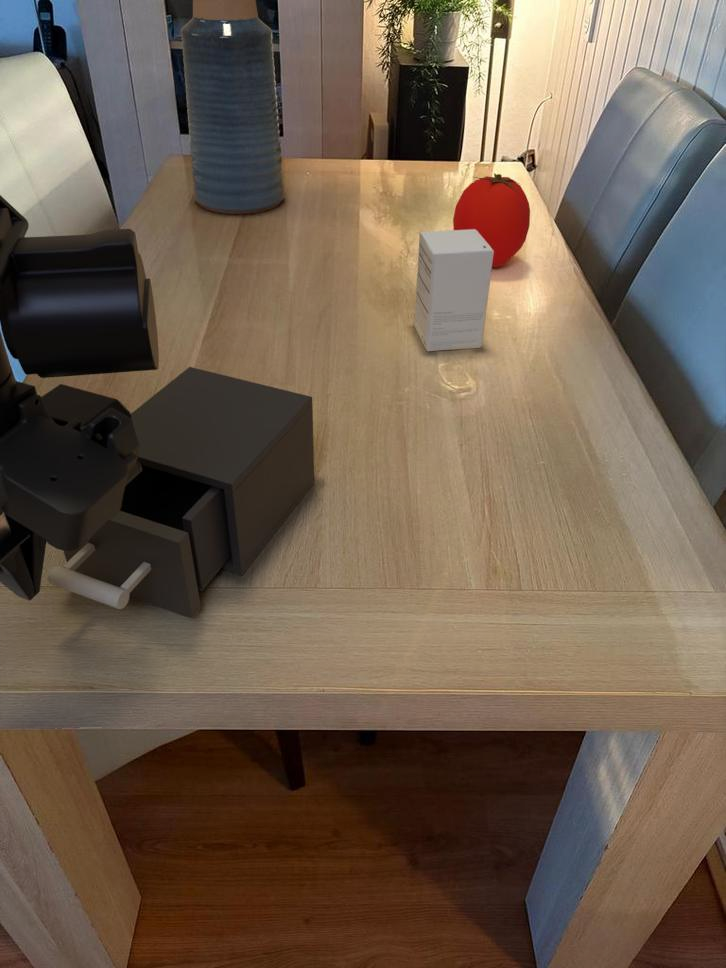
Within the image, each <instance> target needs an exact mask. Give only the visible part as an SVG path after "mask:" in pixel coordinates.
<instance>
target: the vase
mask: <svg viewBox="0 0 726 968" xmlns="http://www.w3.org/2000/svg"><path fill="white" fill-rule="evenodd" d="M180 37H181V41H182V42H181V47H182V56H183V57H182V61H183V64H184V65H183V70H184V79H185V80H184V85H185V93H186V95H185V98H186V108H187V109H186V110H187V121H188V135H189V139H188V141H189V146H190V147H189V154H190V156H191V157H190V166H191V169H192V170H191V179H192V190H193V198H194V200H195V202H196V203H197V204H198V205H199V206H200V207H201V208H203V209H205V210H207V211H210V212H213V213H218V214H225V215H249V214H251V215H253V214H258V213H263V212H267V211H269V210H272V209H275V208H276V207H278V206H279V205H280V204H281V202H282V201H283V200H284V199H285V194H286V193H285V183H284V171H283V156H282V147H281V143H282V141H281V140H282V139H281V136H280V133H281V132H280V122H279V120H280V119H279V115H278V114H279V109H278V106H279V105H278V95H277V87H276V85H277V81H276V73H275V72H276V71H275V70H276V67H275V58H274V44H273V39H274V37H273V30H272V29H271V28H270V27H269V26H268V25H267V24H266V23H265V22H263V20H262V19H260V18H259V13H258V6H257V1H256V0H192V18H190V20H189V21H188V22H187V23H185V25H183V26H182V28H181V29H180Z"/></svg>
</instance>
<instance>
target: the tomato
mask: <svg viewBox="0 0 726 968" xmlns="http://www.w3.org/2000/svg"><path fill="white" fill-rule="evenodd" d="M493 175H494V176H484V177H476V176H473V178H475V179H476V180H474V181H473V182H471V183H470V184H469V185H468V186H467V187H465V189H463V191H462V193H461V195H460V197H459V199H458V201H457V203H456V205H455V208H454V211H453V217H452V225H453V226H452V227H453V228H452V229H453V230H469V229H476V230H477V231H478V233H479V234H480V235H481V236H482V237H483V238H484V240H485V241H486V242H487V243H488V244H489V246H490V247H491V248H492V250H493V251H494V255H493V262H492V268H497V267H501V266H504V265H505V264H507V263H508V262H509V261H510V260H511V259H512V258H513V257H515V255H516V254H517V253H518V252H520V250H521V249H522V248H523V246H524V244H525V243H526V240H527V237H528V233H529V229H530V223H531V222H530V221H531V208H530V207H531V206H530V202H529V200H528V197H527V195H526V193H525V191H524V189H523V187H522V186H521V184H520V183H519V182H517V181H516V180H515V179H512V178H511V177H509V176H502V174H501V173H497V174H496V173H495V172H494V173H493Z"/></svg>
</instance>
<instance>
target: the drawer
mask: <svg viewBox="0 0 726 968" xmlns="http://www.w3.org/2000/svg"><path fill="white" fill-rule="evenodd" d="M141 466H142V471H141V472H140V473H139V474H138V475H137V476H136V477H135V478H134V479H133V480H131V481H130V482H129V483H128V484H127V485H126V486H125V490H124V495H123V500H122V506H121V509H120V511H119V512H118V514H116V515H115V516H114V517H113V518H110V519H109V520H108V521H107V522H106V523H105V524H104V525H103V526H102V527H101V528H99V529H98V530H97V531H96V532H95V533H94V534H93V535H92V536H91V538H90V539H89V541H88V542H87V543H86V544H84V545H83V546H82V547H81V548H79V549H76V550H73V551H63V554H64V558H65V561H66V562H65V564H64V565H62V566H61V565H55V566H53V567H52V568H51V569H50V570H49V572H48V575H47V581H48V583H49V584H50V585H52V586H54V587H58V588H60V589H63V590H66V591H69V592H71V593H74V594H76V595H78V596H82V597H85V598H86V599H90V600H93V601H95V602H97V603H101V604H103V605H106V606H109V607H112V608H114V609H117V610H122V609H124V608H125V607H126V606H127V605H128V603H129V601H130V597H131V598H133V599H136V600H139V601H142V602H145V603H147V604H150V605H153V606H156V607H158V608H161V609H164V610H166V611H169V612H172V613H175V614H177V615H181V616H183V617H186V618H189V619H191V620H193V619H194V618H195V617H196V615H198V613H199V612H200V610H201V609H202V607H201V600H200V594H199V591H200V592H203V591H204V590H205V589H206V587H207V586H208V585H209V584H210V582H211V581H212V580H213V579H214V577H215V576H216V575H217V574H218V573H219V571H220V570H222V569H221V568H222V566H223V565H224V564H225V563H226V561H227V560H228V559H229V558H230V556H231V555H232V552H231V544H230V536H229V527H228V519H227V511H226V502H225V494H224V489H220V488H217V487H214V486H210V485H207V484H203V483H200V482H197V481H193V480H190V479H187V478H183V477H180V476H177V475H173V474H170V473H167V472H163V471H160V470H156V469H153V468H150V467H146V466H143V465H141Z"/></svg>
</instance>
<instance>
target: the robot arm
mask: <svg viewBox="0 0 726 968" xmlns="http://www.w3.org/2000/svg"><path fill="white" fill-rule="evenodd" d="M28 230H29V221H28V219H26V217H24V215H22V214H21V213H20V212H19V211H18V210H17V209H16V208H15V207H14V206H13V205H12V204H10V202H8V201H7V199H5V198H4V197H3V196H2V195H1V194H0V330H1V331H0V583H1V584H2V585H3V586H4V587H6V589H8V590H10V591H11V592H12V593H13V594H14V595H16V596H17V597H19V598H22V599H24V600H26V601H32V600H33V599H34V598H35V597H36V596H37V595H38V594H39V593H40V591H41V586H42V585H41V584H42V577H43V571H44V570H43V569H44V562H45V554H46V548H47V544H48V545H50V546H51V547H53V548H55V549H57V550H60V551H63V552H64V551H73V550H76V549H79V548H81V547H82V546H83V545H84V544H86V543H87V542H88V541H89V539H90V538H91V536H92V535H93V534H94V533H95V532H96V531H97V530H98V529H99V528H101V527H102V526H103V525H104V524H105V523H106V522H107V521H108V520H109V519H110V518H113V517H114V516H115V515H116V514H118V512H119V511H120V509H121V506H122V500H123V495H124V490H125V486H126V485H127V484H128V483H129V482H130V481H131V480H133V479H134V478H135V477H136V476H137V475H138V474H139V473H140V472H141V471H142V466H141V464H140V463H139V461H137V458H138V453H139V442H138V439H137V436H136V432H135V429H134V426H133V422H132V417H131V413H132V412H131V411H130V409H128V408H127V406H125V404H124V403H122V402H121V401H120V400H119V399H117V398H114V397H111V396H106V395H103V394H100V393H96V392H91V391H88V390H84V389H81V388H77V387H73V386H69V385H67V384H63V383H60V384H58V385H57V386H55V387H54V388H52V389H51V390H50V391H47V392H46V393H44V394H43V395H42V396H41V395H40V394H38V393H37V389H36V385H32V384H30V383H29V384H28V383H25V382H21V381H17V380H16V378H15V374H14V372H13V367H12V365H11V362H10V359H9V355H8V353H7V352H9V354H10V356H11V357H12V358H13V359H14V360H17V361H18V363H19V365H20V367H21V370H22V371H23V373H24V375H27V376H28V375H37V376H38V377H39V378H41V379H46V378H47V379H50V378H63V377H75V376H76V377H77V376H78V377H79V376H90V375H102V374H103V375H104V374H105V375H106V374H116V373H118V374H119V373H133V372H143V371H158V370H159V366H160V364H159V362H160V354H159V353H160V352H159V339H158V325H157V318H156V317H157V316H156V309H155V301H154V294H153V288H152V281H151V278H147V276H146V271H145V267H144V262H143V259H142V255H141V254H140V252H139V248H138V241H137V235H136V232H135V231H134V230H133V229H131V228H114V229H104V230H100V231H97V232H93V233H90V234H89V233H88V234H71V235H70V234H69V235H46V236H45V235H44V236H26V234H27V232H28ZM7 350H8V351H7Z"/></svg>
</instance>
